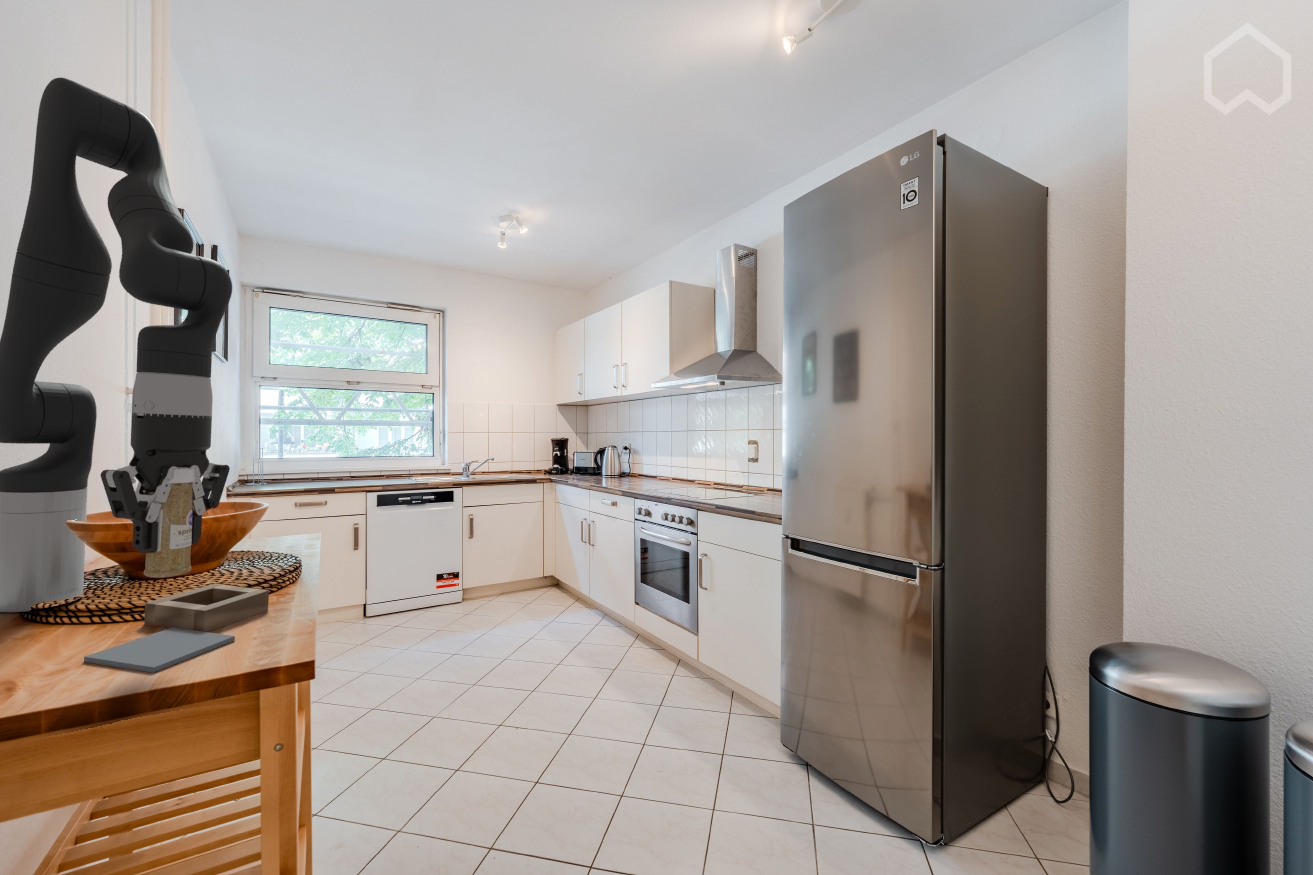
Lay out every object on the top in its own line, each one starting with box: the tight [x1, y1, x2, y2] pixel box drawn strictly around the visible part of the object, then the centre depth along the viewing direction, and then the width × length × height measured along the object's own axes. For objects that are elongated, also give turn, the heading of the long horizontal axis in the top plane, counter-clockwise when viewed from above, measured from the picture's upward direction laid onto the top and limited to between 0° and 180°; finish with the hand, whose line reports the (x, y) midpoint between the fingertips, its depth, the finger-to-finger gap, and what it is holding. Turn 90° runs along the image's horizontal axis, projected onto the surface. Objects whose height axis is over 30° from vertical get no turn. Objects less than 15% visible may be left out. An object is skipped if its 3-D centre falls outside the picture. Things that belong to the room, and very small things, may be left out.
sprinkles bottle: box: [143, 467, 195, 579], centre depth 69 cm, size 5×5×13 cm
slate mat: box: [83, 627, 236, 674], centre depth 69 cm, size 10×10×1 cm
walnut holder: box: [143, 583, 270, 632], centre depth 81 cm, size 10×10×3 cm
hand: (168, 547), depth 69 cm, fingers closed on sprinkles bottle, 4 cm apart
